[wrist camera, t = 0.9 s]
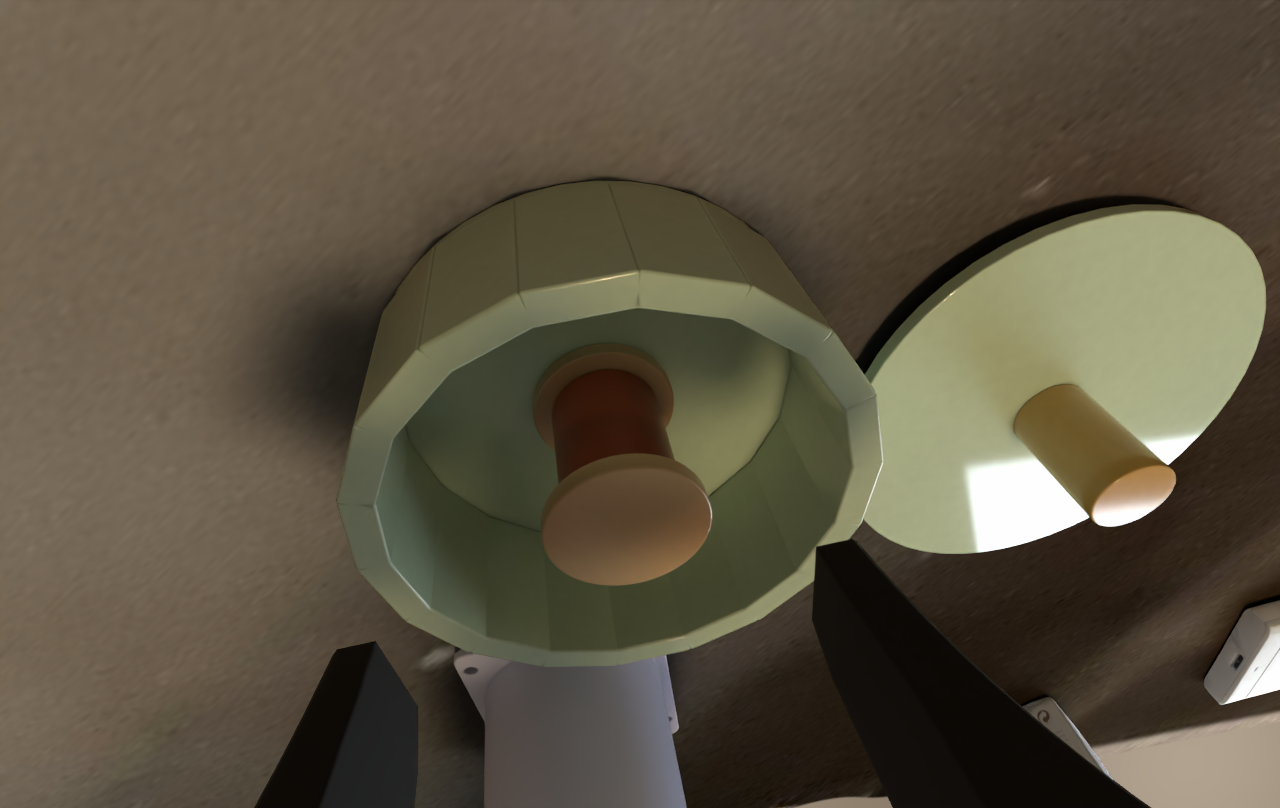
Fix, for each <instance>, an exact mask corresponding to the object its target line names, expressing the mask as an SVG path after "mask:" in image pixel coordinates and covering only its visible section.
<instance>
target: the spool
mask: <svg viewBox="0 0 1280 808" xmlns="http://www.w3.org/2000/svg"><path fill="white" fill-rule="evenodd" d="M673 408H674V395H673V390H672V387H671V384H670V381H669V378H668V376H667V374H666V372H665V370H664V369H663V368H662V366H661V365H660V364H659V363H658V362H657V361H656V360H655V359H654V358H653V357H651V356H650V355H648V354H647V353H645V352H643V351H641V350H639V349H637V348H634V347H631V346H627V345H622V344H614V343H601V344H594V345H589V346H585V347H581V348H579V349H576V350H573V351H571V352H569V353H567V354H565V355H564V356H562V357H561V358H559V359H558V360H557V361H555V362H554V363H553V364H552V365H551V366H550V367H549V368H548V369H547V370H546V371H545V373H544V374H543V375H542V377H541V378H540V380H539V382H538V384H537V386H536V389H535V392H534V397H533V415H534V422H535V426H536V428H537V431H538V433H539V434H540V436H541V438H542V439H543V440H544V441H545V443H546V444H547V445H548V446H549V447H550V448H551V449H553V450H554V451H555V454H556V464H557V474H558V485H557V486H556V487H555V489H554V490H553V491H552V493H551V494H550V496H549V497H548V499H547V501H546V503H545V505H544V508H543V511H542V516H541V534H542V543H543V547H544V549H545V552H546V554H547V555H548V557H549V558H550V560H551V561H552V563H553V564H554V565H555V566H556V567H557V568H559V569H560V570H561V571H563V572H564V573H566V574H567V575H569V576H571V577H573V578H575V579H578V580H581V581H584V582H587V583H592V584H598V585H629V584H635V583H640V582H644V581H648V580H651V579H654V578H657V577H660V576H662V575H664V574H667V573H669V572H671V571H672V570H674V569H676V568H678V567H679V566H681V565H682V564H684V563H685V562H686V561H687V560H689V559H690V558H691V557H692V556H693V555H694V554H695V553H696V552H697V551H698V550H699V549H700V547H701V546H702V545H703V543H704V541H705V540H706V538H707V536H708V533H709V531H710V528H711V523H712V508H711V503H710V500H709V497H708V494H707V492H706V489H705V486H704V485H703V483H702V481H701V480H700V478H699V477H698V476H697V475H696V474H695V473H694V472H693V471H691V470H690V469H689V468H688V467H686V466H685V465H683V464H681V463H679V462H677V461H675V458H674V455H673V452H672V448H671V445H670V442H669V438H668V435H667V432H666V428H667V426H668V424H669V422H670V420H671V417H672V413H673Z"/></svg>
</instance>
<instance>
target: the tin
mask: <svg viewBox="0 0 1280 808" xmlns="http://www.w3.org/2000/svg"><path fill="white" fill-rule="evenodd" d="M601 343H614V344H622V345H627V346H631V347H634V348H637V349H639V350H641V351H643V352H645V353H647V354H648V355H650V356H651V357H653V358H654V359H655V360H656V361H657V362H658V363H659V364H660V365H661V366H662V368H663V369H664V370H665V372H666V374H667V376H668V378H669V381H670V384H671V387H672V390H673V395H674V408H673V413H672V417H671V420H670V422H669V424H668V426H667V428H666V432H667V435H668V438H669V442H670V445H671V448H672V452H673V455H674V458H675V461H677V462H679V463H681V464H683V465H685V466H686V467H688V468H689V469H690V470H691V471H693V472H694V473H695V474H696V475H697V476H698V477H699V478H700V480H701V481H702V483H703V485H704V486H705V489H706V492H707V494H708V497H709V500H710V503H711V508H712V523H711V528H710V531H709V533H708V536H707V538H706V540H705V541H704V543H703V545H702V546H701V547H700V549H699V550H698V551H697V552H696V553H695V554H694V555H693V556H692V557H691V558H690V559H689V560H687V561H686V562H685V563H684V564H682V565H681V566H679V567H678V568H676V569H674V570H672V571H671V572H669V573H667V574H664V575H662V576H660V577H657V578H654V579H651V580H648V581H644V582H640V583H635V584H629V585H598V584H592V583H587V582H584V581H581V580H578V579H575V578H573V577H571V576H569V575H567V574H566V573H564V572H563V571H561V570H560V569H559V568H557V567H556V566H555V565H554V564H553V563H552V561H551V560H550V558H549V557H548V555H547V554H546V552H545V549H544V547H543V543H542V534H541V516H542V511H543V508H544V505H545V503H546V501H547V499H548V497H549V496H550V494H551V493H552V491H553V490H554V489H555V487H556V486H557V485H558V474H557V464H556V454H555V451H554V450H553V449H551V448H550V447H549V446H548V445H547V444H546V443H545V441H544V440H543V439H542V438H541V436H540V434H539V433H538V431H537V428H536V426H535V422H534V415H533V397H534V392H535V389H536V386H537V384H538V382H539V380H540V378H541V377H542V375H543V374H544V373H545V371H546V370H547V369H548V368H549V367H550V366H551V365H552V364H553V363H554V362H555V361H557V360H558V359H559V358H561V357H562V356H564V355H565V354H567V353H569V352H571V351H573V350H576V349H579V348H581V347H585V346H589V345H594V344H601ZM882 465H883V450H882V440H881V430H880V420H879V410H878V401H877V394H876V393H875V389H874V388H873V386H872V385H871V384H870V382H869V381H868V379H867V378H866V376H865V375H864V373H863V372H862V371H861V369H860V368H859V366H858V365H857V363H856V362H855V360H854V359H853V357H852V356H851V355H850V353H849V352H848V350H847V349H846V347H845V346H844V344H843V343H842V342H841V340H840V339H839V337H838V336H837V334H836V333H835V331H834V330H833V329H832V327H831V326H830V325H829V323H828V322H827V320H826V319H825V318H824V316H823V315H822V313H821V312H820V311H819V309H818V308H817V307H816V305H815V304H814V302H813V301H812V300H811V298H810V297H809V296H808V294H807V293H806V291H805V290H804V289H803V287H802V286H801V285H800V283H799V282H798V280H797V279H796V278H795V276H794V275H793V273H792V272H791V271H790V269H789V268H788V267H787V265H786V264H785V262H784V261H783V260H782V258H781V257H780V256H779V254H778V253H777V251H776V250H775V249H774V247H773V246H772V245H771V243H770V242H769V241H768V240H767V239H766V238H764V237H763V236H761V235H759V234H758V233H756V232H755V231H754V230H753V229H751V228H750V227H749V226H748V225H747V224H746V223H744V222H743V221H741V220H740V219H738V218H736V217H735V216H733V215H732V214H730V213H729V212H727V211H726V210H724V209H722V208H721V207H718V206H716V205H714V204H712V203H710V202H707V201H705V200H703V199H701V198H698V197H696V196H694V195H691V194H688V193H684V192H681V191H677V190H674V189H670V188H667V187H663V186H658V185H651V184H644V183H638V182H631V181H588V182H579V183H571V184H562V185H557V186H553V187H549V188H545V189H541V190H537V191H533V192H529V193H525V194H523V195H520V196H517V197H515V198H512V199H510V200H507V201H505V202H502V203H500V204H497V205H494V206H492V207H491V208H489V209H487V210H485V211H483V212H482V213H480V214H478V215H476V216H474V217H473V218H471V219H469V220H467V221H465V222H464V223H462V224H461V225H460V226H458V227H457V228H456V229H454V230H453V231H452V232H450V233H449V234H448V235H446V236H445V237H444V238H442V239H441V240H440V241H438V242H437V243H436V244H435V245H434V246H433V247H432V248H431V249H430V250H429V251H428V252H427V253H426V254H425V255H424V256H423V257H422V258H421V259H420V260H419V261H418V262H417V263H416V264H415V265H414V267H413V268H412V270H411V271H410V272H409V274H408V275H407V276H406V278H405V279H404V280H403V282H402V283H401V285H400V286H399V287H398V289H397V291H396V292H395V294H394V296H393V298H392V300H391V302H390V303H389V304H388V305H387V307H386V308H385V309H384V311H383V313H382V315H381V319H380V323H379V327H378V331H377V335H376V339H375V343H374V347H373V350H372V354H371V358H370V362H369V366H368V370H367V374H366V378H365V382H364V386H363V390H362V393H361V397H360V401H359V405H358V409H357V413H356V417H355V421H354V425H353V429H352V433H351V438H350V442H349V446H348V451H347V455H346V459H345V464H344V468H343V473H342V477H341V481H340V486H339V490H338V494H337V499H336V502H337V507H338V510H339V514H340V517H341V520H342V523H343V527H344V530H345V533H346V536H347V540H348V543H349V546H350V550H351V553H352V556H353V559H354V563H355V566H356V569H358V571H359V573H360V574H361V575H362V576H363V577H364V578H365V579H366V580H367V581H368V582H369V583H370V585H371V586H372V587H373V588H374V589H375V590H376V591H377V592H378V593H379V594H380V595H381V596H382V597H383V598H384V599H385V600H386V601H387V603H388V604H389V605H390V606H391V607H392V608H393V609H394V610H395V611H396V612H397V613H398V614H399V615H400V616H401V617H402V618H403V619H404V620H405V621H406V622H408V623H410V624H412V625H414V626H416V627H418V628H420V629H422V630H424V631H426V632H428V633H430V634H432V635H434V636H436V637H438V638H440V639H442V640H444V641H446V642H448V643H450V644H452V645H454V646H456V647H458V648H460V649H462V650H464V651H466V652H471V653H474V654H479V655H484V656H489V657H494V658H499V659H504V660H509V661H514V662H519V663H524V664H529V665H534V666H543V667H585V666H616V665H617V664H618V665H622V664H627V663H632V662H636V661H641V660H645V659H650V658H654V657H659V656H664V655H668V654H673V653H677V652H682V651H687V650H689V649H690V648H691V649H693V648H696V647H698V646H700V645H703V644H705V643H707V642H709V641H712V640H714V639H716V638H719V637H721V636H723V635H726V634H728V633H730V632H732V631H735V630H737V629H739V628H742V627H744V626H746V625H749V624H751V623H753V622H755V621H757V619H758V620H760V619H762V618H763V617H764V616H766V615H767V614H769V613H770V612H771V611H773V610H774V609H776V608H777V607H778V606H780V605H781V604H782V603H784V602H785V601H787V600H788V599H789V598H791V597H792V596H794V595H795V594H796V593H798V592H799V591H800V590H802V589H803V588H805V587H806V586H807V585H809V584H810V583H812V582H813V581H814V575H815V557H816V547H817V546H822V545H826V544H831V543H836V542H840V541H845V540H849V538H850V537H851V536H852V535H853V533H854V532H855V531H856V530H857V528H858V527H859V526H860V524H861V523H862V521H863V518H864V515H865V512H866V509H867V507H868V504H869V501H870V498H871V496H872V493H873V490H874V487H875V484H876V482H877V479H878V476H879V473H880V470H881V468H882Z"/></svg>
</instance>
